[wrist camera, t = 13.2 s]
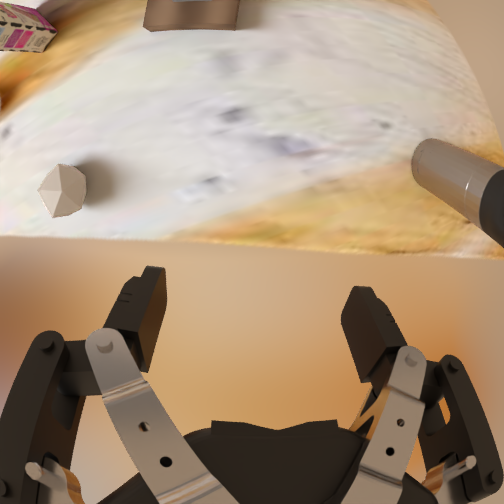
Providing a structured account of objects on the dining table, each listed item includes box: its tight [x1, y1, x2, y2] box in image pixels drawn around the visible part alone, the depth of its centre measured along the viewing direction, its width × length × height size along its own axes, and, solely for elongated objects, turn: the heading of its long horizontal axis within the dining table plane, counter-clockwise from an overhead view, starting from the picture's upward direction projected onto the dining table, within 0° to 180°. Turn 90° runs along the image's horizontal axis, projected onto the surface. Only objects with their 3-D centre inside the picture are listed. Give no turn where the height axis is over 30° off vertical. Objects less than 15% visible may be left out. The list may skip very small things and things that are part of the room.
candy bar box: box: [0, 2, 58, 53], centre depth 15 cm, size 11×5×16 cm, turn 39°
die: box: [38, 164, 87, 218], centre depth 35 cm, size 8×9×10 cm
